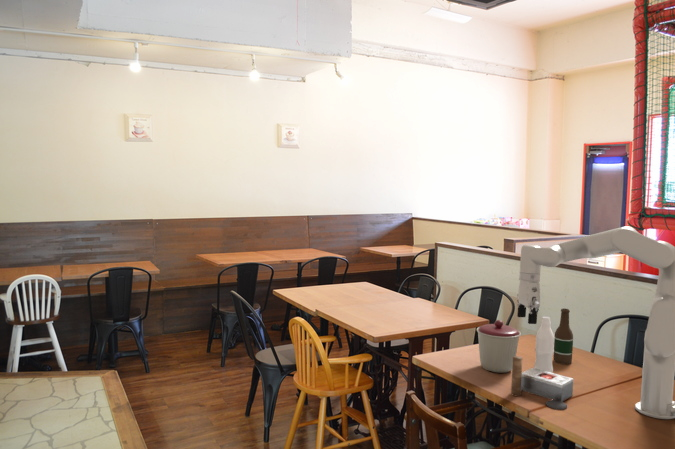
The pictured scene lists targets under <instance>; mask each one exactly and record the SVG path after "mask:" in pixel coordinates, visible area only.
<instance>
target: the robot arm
mask: <svg viewBox="0 0 675 449" xmlns="http://www.w3.org/2000/svg"><path fill="white" fill-rule="evenodd" d="M618 253H622V254H623V255H626V256H627V257H629V258H632V259H634V260H636V261H639V262H640V263H642V264H645V265H646V266H649V267H652V268H655V269H658V278H657V284H656V289H655V293H654V297H653V299H652V302H651V306H650V310H649V315H648V321H647V325H646V329H645V332H644V339H643V342H644V344H643V345H644V348H643V359H642V360H643V361H642V362H643V363H642V364H643V365H642V373H641V375H642V376H641V377H642V378H641V390H640V391H641V392H640V401H639V402H636V403H635V404H634V408H635V410H636V411H637V412H638V413H640V414H642V415H644V416H647V417H651V418H654V419H658V420H660V419H661V420H674V419H675V401H674V400H673V397H674V384H675V383H674V382H675V246H674V245H673V244H671V243H670V242H667V241H664V240H655V239H653V238H650V237H648V236H646V235H644V234H642V233H640V232H639V231H637V230H636V229H635V228H634V227H632V226H627V225H626V226H621V227H618V228H613V229H609V230H605V231H601V232H598V233H594V234H590V235H589V234H588V235H586V236H585V235H584V236H582V237H580V238H577V239H573V240H569V241H565V242H561V243H557V244H552V245H549V246H546V247H541V246H539V245H535V244H524V245H522V246H521V248H520V259H519V260H520V262H519V263H520V264H519V275H518V276H519V277H518V278H519V279H518V280H519V285H518V293H517V315H516V316H517V318H526V314H527V308H528V311H529V313H528V315H527V317H528V319H527V324H528V325H537V322H538V314H539V311H540V310H539V308H540V306H541V285H540V282H541V281H540V280H541V269H542V268H541V267H547V268H555V267H557V266H558V265H560V264H564V263H567V262H571V261H576V260H581V259H589V260H591V259H597V258H601V257H605V256H609V255H610V256H611V255H614V254H618Z"/></svg>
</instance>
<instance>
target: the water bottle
mask: <svg viewBox="0 0 675 449" xmlns="http://www.w3.org/2000/svg"><path fill="white" fill-rule="evenodd" d="M541 319H542V320H541V322H540V324H541V326H540V327H539V328H538V330H537V332H536V334H535V348H534V352H535V362H534V365H533V366H534V367H533V368H536V369H540V370H544V371H547V372H551V373H554V366H553V355H554V337H555V333H554V332H553V330H552V327H551V324H552V323H551V317H550V316H542V318H541Z"/></svg>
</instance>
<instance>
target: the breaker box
mask: <svg viewBox="0 0 675 449" xmlns="http://www.w3.org/2000/svg"><path fill="white" fill-rule="evenodd" d="M542 375H547V376H550V377H552V379H551V380H550V379H547V378H543V377H541V376H542ZM573 389H574V378H573V377H569V376H565V375H561V374H558V373H554V372H553V373H551V372H547V371H544V370H540V369H536V368H534V367H531V368H528V369H526V370H525V371H522V377H521V391H522V390H523V391H522V392H525V391H526V392H525V393H528V392H529V394H531V393H533V394H532V395H535V394H536V396H538V395H539V397H541V396H543V397H542V398H545V397H546V398H545V399H548V398H549V399H548V400H551V399H553V400H557V401H561V402H565V401H566V400H567V399H569V398H570V397H571V398H572V396H573V395H574V393H573V391H574V390H573Z"/></svg>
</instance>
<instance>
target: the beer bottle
mask: <svg viewBox="0 0 675 449" xmlns="http://www.w3.org/2000/svg"><path fill="white" fill-rule="evenodd" d="M573 345H574V334H573V331H572V330H571V327H570V309H569V308H565V307H564V308H561V309H560V321H559V326H558V327H557V328H556V330H555V332H554V353H553V357H552V359H553V361H554V363H556V364H559V365H566V366H567V365H571V364H572V362H573V361H572V360H573V348H574V346H573Z"/></svg>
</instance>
